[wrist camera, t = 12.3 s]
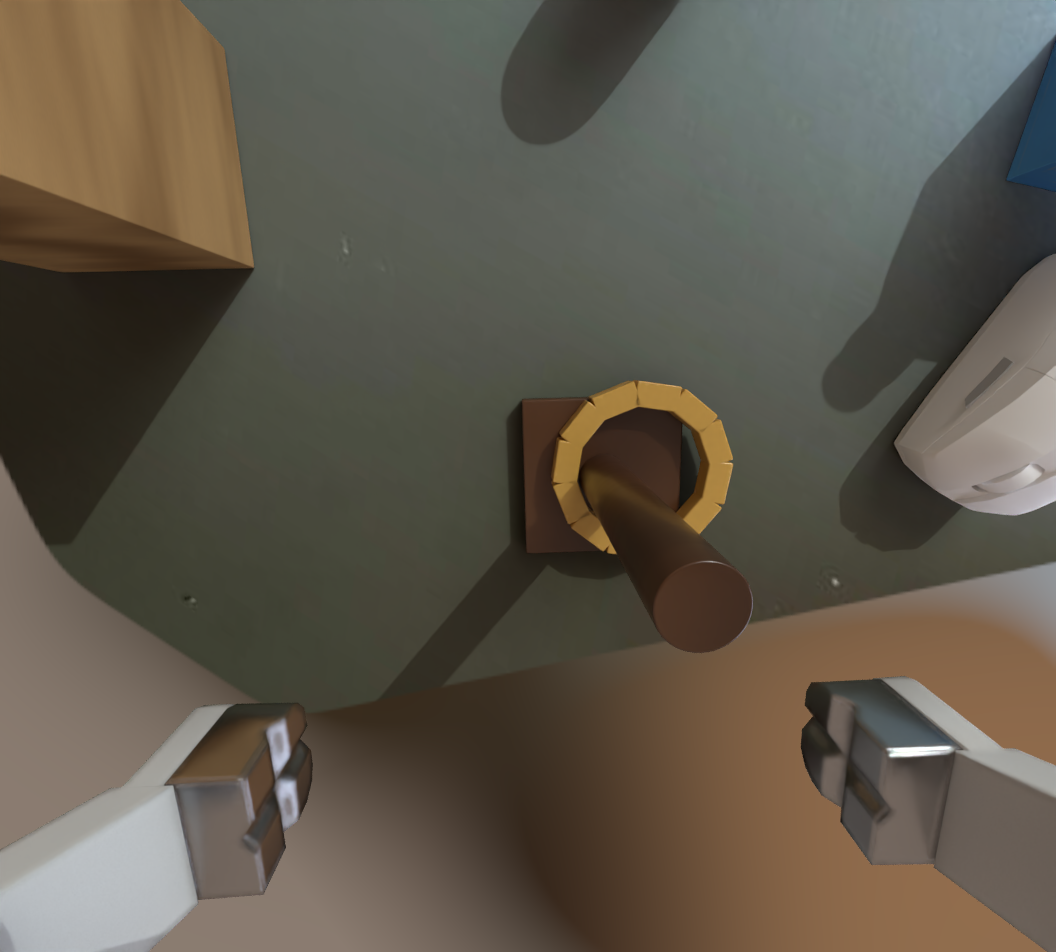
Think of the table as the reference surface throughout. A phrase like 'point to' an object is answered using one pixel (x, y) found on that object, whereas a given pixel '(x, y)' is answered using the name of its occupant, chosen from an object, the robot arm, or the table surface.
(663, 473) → the post
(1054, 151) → the perfume bottle
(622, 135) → the table surface
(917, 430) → the computer mouse
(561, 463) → the ring
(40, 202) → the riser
